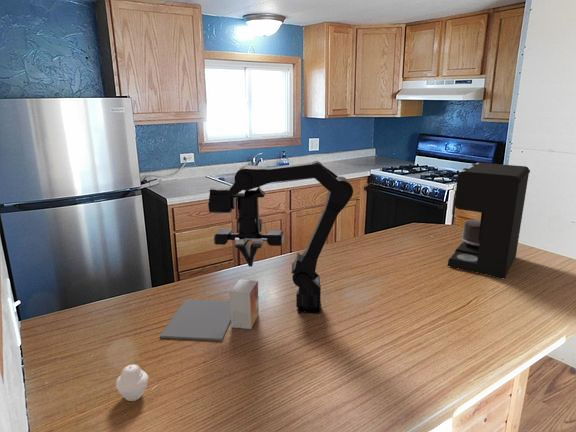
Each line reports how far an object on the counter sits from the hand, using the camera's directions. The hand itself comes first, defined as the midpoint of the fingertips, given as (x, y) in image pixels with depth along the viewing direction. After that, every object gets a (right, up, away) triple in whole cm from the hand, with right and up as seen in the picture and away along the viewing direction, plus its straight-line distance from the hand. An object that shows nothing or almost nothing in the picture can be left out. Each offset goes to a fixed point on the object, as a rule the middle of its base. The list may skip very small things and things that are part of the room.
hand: (250, 266), depth 116 cm
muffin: (-21, -23, -32) cm, 45 cm away
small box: (-1, -15, -4) cm, 15 cm away
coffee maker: (+83, -3, +38) cm, 91 cm away
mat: (-13, -14, -3) cm, 19 cm away
